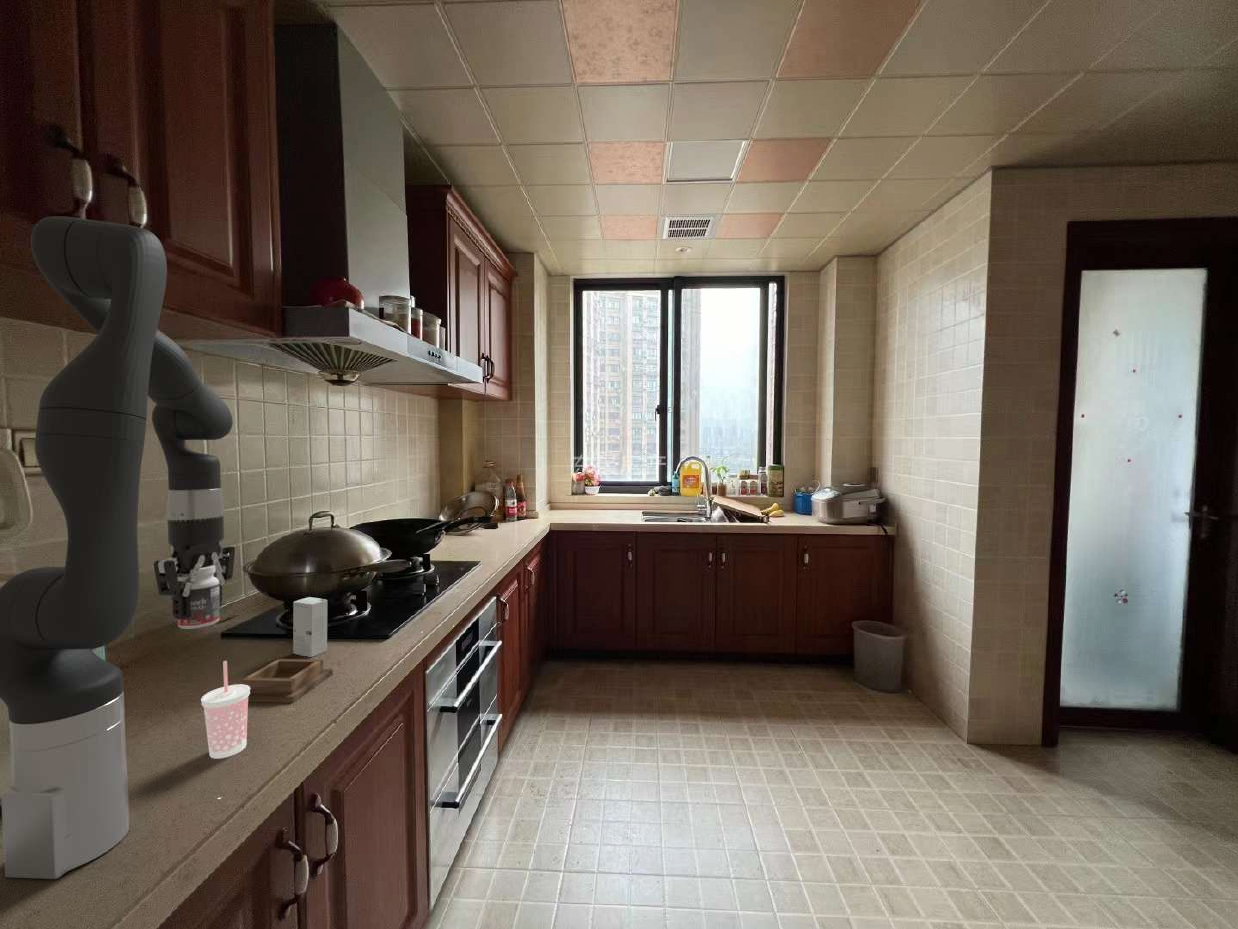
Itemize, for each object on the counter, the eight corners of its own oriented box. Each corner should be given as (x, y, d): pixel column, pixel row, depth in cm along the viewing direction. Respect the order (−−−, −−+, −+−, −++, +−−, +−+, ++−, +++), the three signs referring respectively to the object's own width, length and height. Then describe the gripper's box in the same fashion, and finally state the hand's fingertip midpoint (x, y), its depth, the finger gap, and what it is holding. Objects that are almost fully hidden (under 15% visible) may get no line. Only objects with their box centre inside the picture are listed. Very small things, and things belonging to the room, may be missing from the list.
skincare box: (292, 654, 119) (290, 601, 119) (310, 647, 123) (308, 596, 123) (311, 658, 117) (310, 604, 117) (329, 650, 121) (327, 598, 121)
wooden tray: (293, 702, 97) (292, 683, 96) (231, 701, 97) (230, 682, 97) (332, 674, 109) (332, 657, 108) (277, 673, 109) (276, 656, 109)
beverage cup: (214, 742, 84) (211, 656, 83) (258, 736, 85) (255, 651, 85) (195, 764, 78) (191, 672, 77) (242, 757, 80) (239, 666, 79)
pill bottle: (170, 631, 87) (168, 571, 87) (188, 620, 92) (186, 564, 92) (210, 627, 89) (209, 569, 88) (226, 617, 94) (224, 562, 94)
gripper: (179, 520, 83) (182, 626, 83) (248, 510, 97) (251, 600, 97) (134, 520, 83) (138, 626, 84) (210, 510, 97) (212, 600, 98)
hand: (199, 612), depth 90 cm, fingers closed on pill bottle, 5 cm apart
